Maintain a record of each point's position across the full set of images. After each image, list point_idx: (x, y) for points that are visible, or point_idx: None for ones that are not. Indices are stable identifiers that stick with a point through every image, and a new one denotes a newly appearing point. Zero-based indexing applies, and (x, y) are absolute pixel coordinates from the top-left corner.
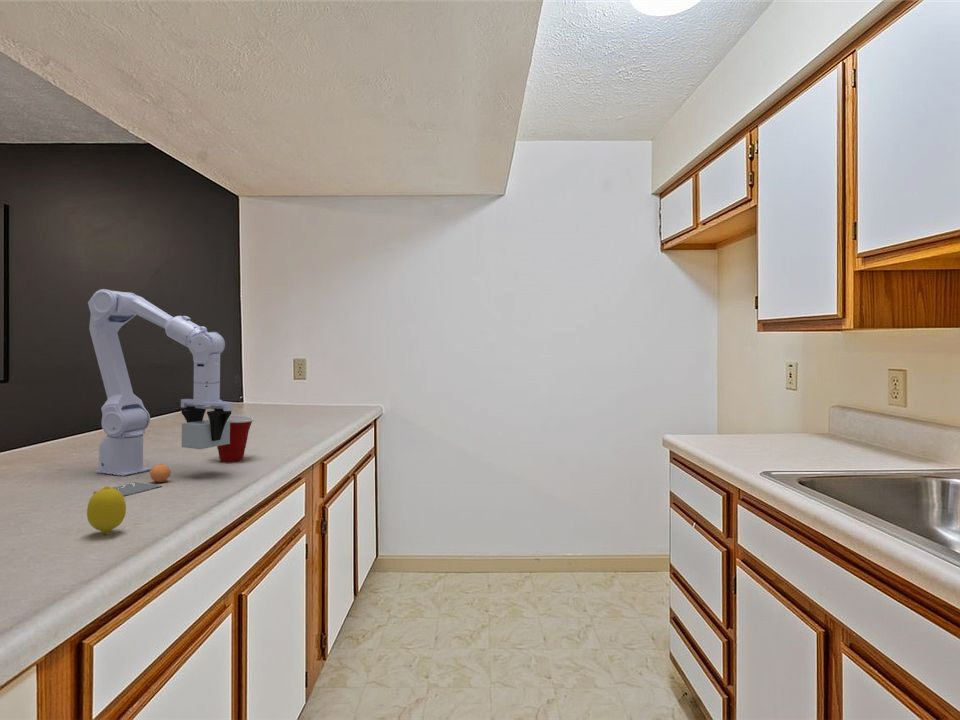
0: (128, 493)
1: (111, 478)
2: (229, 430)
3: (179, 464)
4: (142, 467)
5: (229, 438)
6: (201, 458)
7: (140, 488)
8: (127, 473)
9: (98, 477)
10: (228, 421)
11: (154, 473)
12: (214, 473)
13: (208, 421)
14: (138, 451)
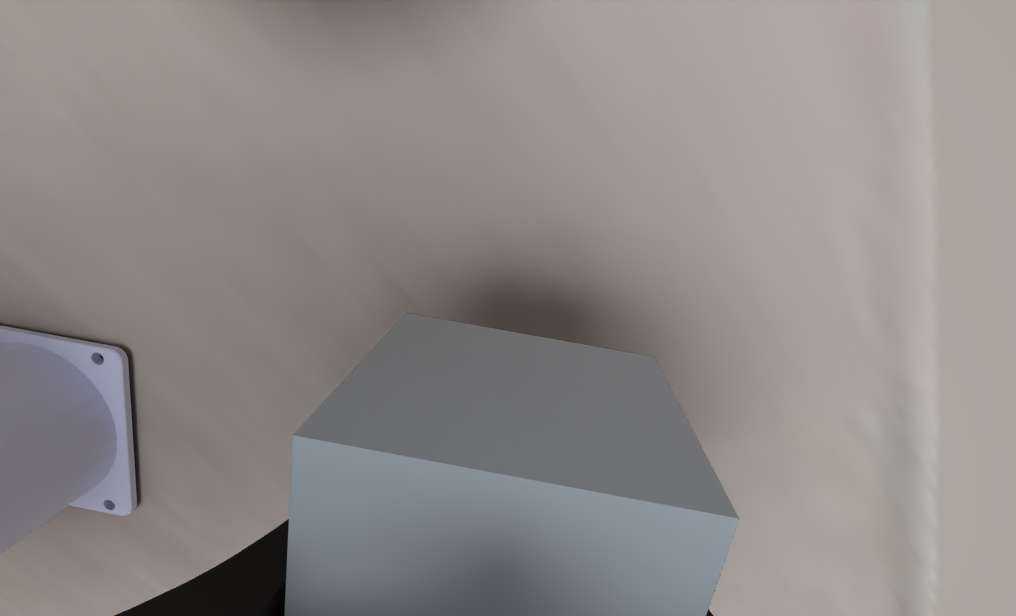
0: None
1: (125, 543)
2: (689, 435)
3: (116, 138)
4: (91, 395)
5: (665, 384)
6: None
7: None
8: (131, 496)
9: (54, 539)
10: (726, 547)
11: None
12: (530, 318)
13: None
14: (3, 497)
